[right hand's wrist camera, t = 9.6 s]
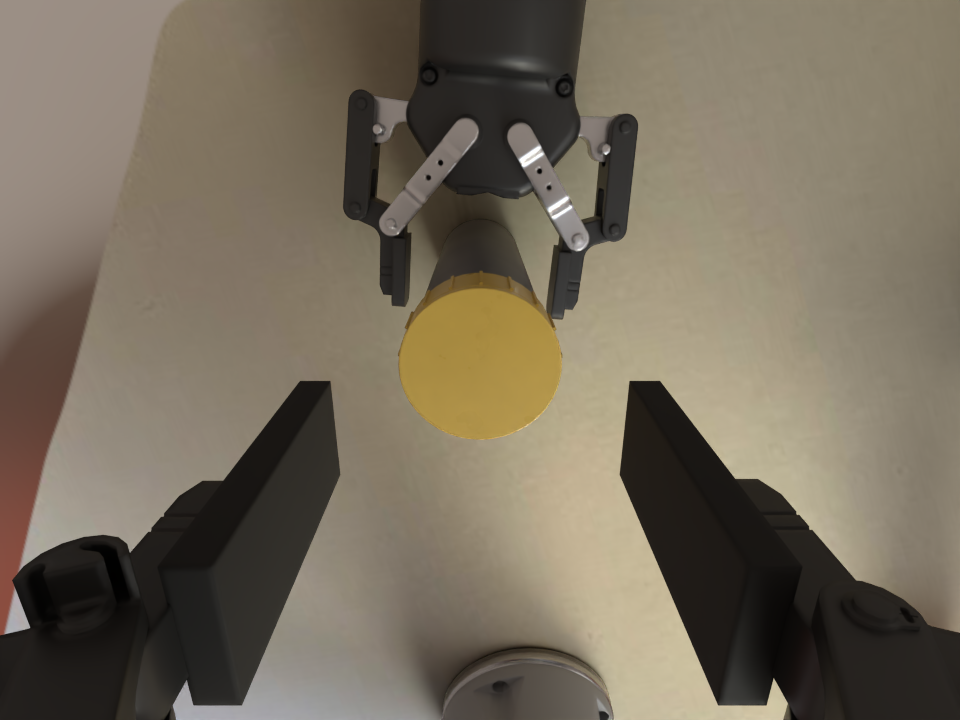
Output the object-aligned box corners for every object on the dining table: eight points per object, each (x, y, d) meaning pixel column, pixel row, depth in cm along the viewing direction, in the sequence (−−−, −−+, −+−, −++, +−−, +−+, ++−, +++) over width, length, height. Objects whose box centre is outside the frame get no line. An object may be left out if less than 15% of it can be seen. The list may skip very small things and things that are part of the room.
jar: (491, 309, 37) (501, 453, 20) (427, 270, 36) (378, 384, 19) (533, 246, 36) (584, 341, 18) (467, 203, 35) (455, 260, 17)
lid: (501, 436, 22) (504, 468, 19) (378, 366, 21) (366, 391, 18) (584, 323, 20) (597, 344, 18) (454, 240, 19) (451, 252, 17)
